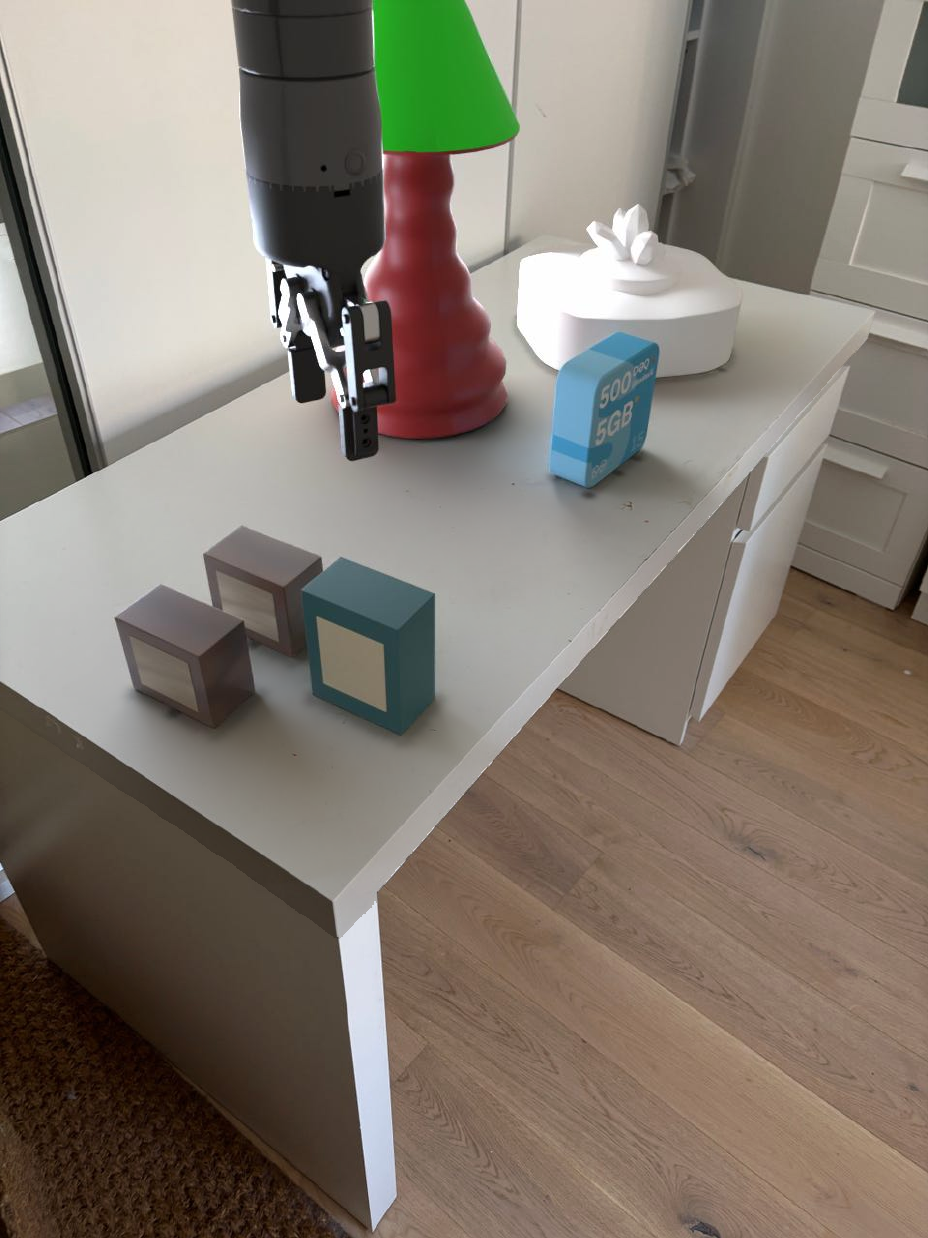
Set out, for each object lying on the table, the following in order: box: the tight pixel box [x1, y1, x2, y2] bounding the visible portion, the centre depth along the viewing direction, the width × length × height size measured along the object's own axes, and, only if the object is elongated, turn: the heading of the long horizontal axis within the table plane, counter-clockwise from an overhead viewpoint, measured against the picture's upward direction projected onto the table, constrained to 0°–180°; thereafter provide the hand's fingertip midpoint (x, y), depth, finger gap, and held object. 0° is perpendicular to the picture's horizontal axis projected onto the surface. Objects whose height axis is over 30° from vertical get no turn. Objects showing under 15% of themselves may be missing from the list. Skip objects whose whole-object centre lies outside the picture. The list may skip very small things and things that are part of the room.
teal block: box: [301, 556, 436, 736], centre depth 69 cm, size 5×8×10 cm, turn 59°
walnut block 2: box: [202, 524, 324, 658], centre depth 76 cm, size 5×8×7 cm, turn 59°
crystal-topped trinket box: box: [516, 203, 744, 379], centre depth 119 cm, size 25×25×16 cm
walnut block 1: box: [113, 583, 256, 729], centre depth 70 cm, size 5×8×7 cm, turn 59°
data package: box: [548, 332, 660, 489], centre depth 96 cm, size 12×4×12 cm, turn 142°
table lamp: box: [330, 0, 521, 440], centre depth 95 cm, size 20×20×45 cm
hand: (334, 426), depth 63 cm, fingers open, 8 cm apart
